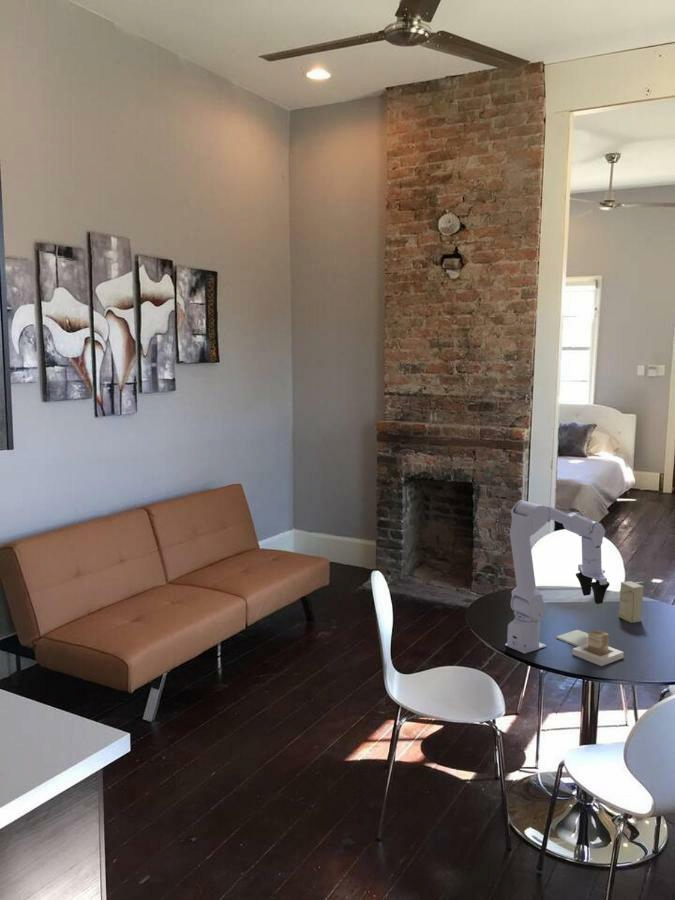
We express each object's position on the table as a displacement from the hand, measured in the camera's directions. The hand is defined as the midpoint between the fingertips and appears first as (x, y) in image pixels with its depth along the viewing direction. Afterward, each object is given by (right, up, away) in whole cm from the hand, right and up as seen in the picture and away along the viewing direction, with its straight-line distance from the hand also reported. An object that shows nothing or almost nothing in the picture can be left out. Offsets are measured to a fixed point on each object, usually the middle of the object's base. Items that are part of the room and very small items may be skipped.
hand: (592, 599), depth 233 cm
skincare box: (+16, -9, +12) cm, 22 cm away
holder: (-5, -13, -18) cm, 23 cm away
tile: (-6, -11, -5) cm, 14 cm away
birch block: (-5, -13, -18) cm, 23 cm away
